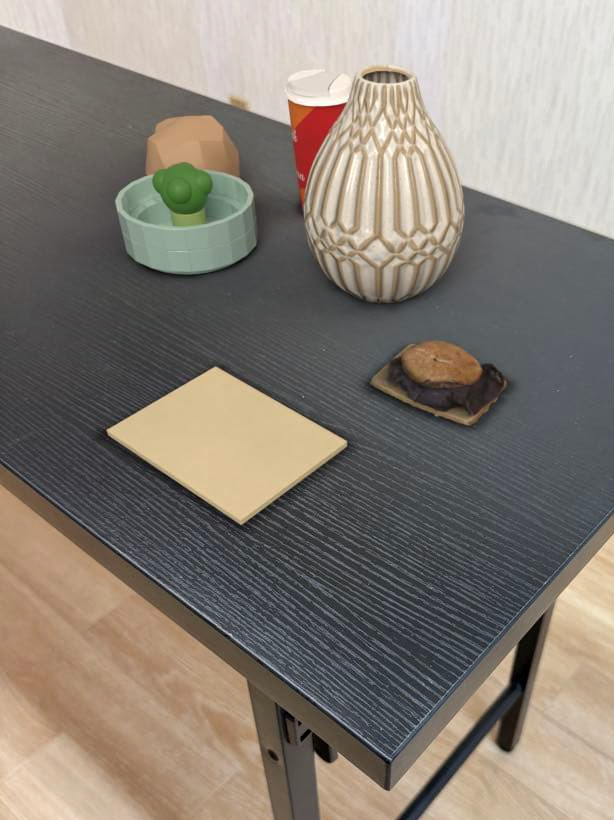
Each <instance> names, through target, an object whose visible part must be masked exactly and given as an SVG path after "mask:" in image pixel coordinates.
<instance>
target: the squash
mask: <svg viewBox="0 0 614 820" xmlns="http://www.w3.org/2000/svg"><path fill="white" fill-rule="evenodd" d="M239 153H240V152H239V150H238V148H237V147H236V146H235V144H234V143H233V141H232V139H231V137H230V136H229V134H228V133H227V131H226V130H225V129H224V126H223V125H222V124H221V123H220V122H219V121H217V119H216V118H214V117H213V115H206V114H204V115H184V116H176V117H171V118H166V119H163V120H162V121H160V122H158V123H157V124H156V125H155V128H154V133H153V134H152V135H150V136H149V137H148V138H147V142H146V156H145V158H146V159H145V175H146V176H148V175H152V174H155V172H156V171H158V170H160V169H167V168H168V167H170V166H172V165H174V164H179V163H181V162H187V163H190V164H192V165H193V166H194V167H195V168H196V169H206V170H212V171H218V172H224V173H227V174H230V175H232V176H235V177H238V178H240V176H241V175H240V156H239ZM240 179H241V178H240Z"/></svg>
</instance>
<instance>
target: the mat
mask: <svg viewBox="0 0 614 820" xmlns="http://www.w3.org/2000/svg"><path fill="white" fill-rule="evenodd" d="M106 432H107V436H108V437H110V438H111V439H113V440H114V441H116V442H117V443H119V444H120V445H121V446H123V447H125V448H126V449H128V450H129V451H130V452H132V453H134V454H135V455H137V456H138V457H139V458H141V459H143V461H145V462H147V463H148V464H150V465H151V466H153V467H154V468H156V469H157V470H159V471H161V472H162V473H163V474H165V475H166V476H168V477H169V478H171V479H172V480H174V481H175V482H177V484H179V485H181V486H183V487H184V488H186V489H187V490H188V491H190V492H191V493H193V494H194V495H195V496H197V497H199V498H201V499H202V501H203V500H204V501H205V502H206V503H207V504H209V505H211V506H212V507H214V508H215V509H217V510H218V511H220V512H221V513H223V514H224V515H226V516H227V517H228V518H230V519H231V520H233V521H234V522H236V523H237V524H239V525H240V526H242V525H243V524H245V523H247V522H248V521H249V520H250V519H252V518H253V517H254V516H256V515H257V514H259V513H260V512H261V511H263V510H264V509H265V508H267V507H268V506H269V505H271V504H272V503H274V502H275V501H276V500H277V499H279V498H280V497H282V496H283V495H284V494H285V493H286V492H288V491H289V490H290V489H292V488H294V487H295V486H296V485H297V484H299V483H300V482H302V481H303V480H304V479H306V478H307V477H308V476H309V475H311V474H313V473H314V472H315V471H316V470H318V469H319V468H320V467H321V466H323V465H324V464H326V463H327V462H329V461H330V460H331V459H333V458H334V457H335V456H337V455H338V454H339V453H341V452H342V451H343V450H344V449H346V448H347V447H348V441H347V440H346V439H344V438H342V437H340V436H339V435H337V434H335V433H334V432H331V431H330V430H328V429H326V428H324V427H323V426H322V425H319V424H318V423H316V422H315V421H312V420H310V419H309V418H307V417H306V416H303V415H302V414H300V413H299V412H296V411H295V410H293V409H291V408H289V407H287V406H286V405H284V404H282V403H281V402H279V401H278V400H275V399H274V398H272V397H271V396H268V395H267V394H265V393H263V392H261V391H260V390H258V389H256V388H254V387H253V386H252V385H249V384H247V383H246V382H245V381H242V380H240V379H238V378H237V377H235V376H234V375H232V374H230V373H228V372H226V371H225V370H223V369H221V368H220V367H217V366H214V367H212V368H210V369H208V370H207V371H205V372H203V373H202V374H200V375H198V376H196V377H195V378H193V379H191V380H190V381H188V382H186V383H185V384H183V385H181V386H179V387H177V388H176V389H175V390H173V391H171V392H169V393H168V394H166V395H164V396H163V397H161V398H158V399H157V400H155V401H154V402H152V403H151V404H148V405H147V406H145V407H144V408H142V409H140V410H138V411H137V412H134V414H132V415H130V416H128V417H126V418H124V419H123V420H121V421H120V422H118V423H116V424H115V425H113V426H111V427H109V428H107V429H106Z"/></svg>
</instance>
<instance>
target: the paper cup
mask: <svg viewBox="0 0 614 820" xmlns="http://www.w3.org/2000/svg"><path fill="white" fill-rule="evenodd" d="M352 83H353V82H352V80H351V78H350V77H349V76H348V75H347V74H345V73H341V74H340V72H339V71H333V70H328V71H327V69H323V68H321V69H320V68H318V69H317V68H315V69H314V68H313V69H303V70H300V71H297V72H294V73H292V74H290V76H288V78H287V80H286V87H285V89H284V91H283V95H284V97H285V98H286V99H287V105H288V112H289V113H288V114H289V121H290V130H291V136H292V145H293V155H294V162H295V170H296V177H297V178H296V179H297V185H298V186H297V187H298V193H299V199H300V206H301V210H302V211H303V203H304V196H305V190H306V185H307V181H308V176H309V173H310V169H311V166H312V164H313V161H314V158H315V156H316V154H317V152H318V150H319V148H320V146H321V144H322V142H323V140H324V139H325V137H326V135H327V133H328V132H329V130H330V129H331V127H332V126H333V124H334V123H335V121H336V120H337V119H338V117H339V116H340V115H341V113H342V111H343V109H344V108H345V106H346V103H347V100H348V97H349V94H350V90H351V87H352Z"/></svg>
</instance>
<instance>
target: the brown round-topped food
mask: <svg viewBox="0 0 614 820" xmlns="http://www.w3.org/2000/svg"><path fill="white" fill-rule="evenodd" d="M369 385H371V386H372V387H374V388H376V389H378V390H379V391H382V392H383V393H385V394H387V395H390V396H391V397H395V398H394V399H395V400H396V399H398V400H400V401H401V402H402V403H405V404H409V405H410V406H412V407H413V408H414V407H415V408H418V409H420V410H422V411H427V412H428V413H430V414H433V415H434V416H435V417H443V418H445V419H446V420H451V421H453V422H454V423H455V422H456V423H457V424H461V425H465V426H468V427H470V426H472V425H474V424H476V423H477V422H478V420H479V419H481V417H482V416H483V414H485V413H487V411H488V410H489V409H490V406H491V405H492V404H493V403H496V402H497V401H498V398H499V396H500V395H501V394H502V392H503V391H504V390H505V389H506V388H507V386H508V385H507V381H506V379H505V378H504V375H503V373H502V371H500V370H498V368H497V367H496V366H495V365H494V364H493V363H491V362H484V363H483V364H482V363H479V361H478V360H477V359H476V358H475V357H474V356H473V355H471V354H470V352H468V351H466V350H465V349H463V348H462V347H460V346H459V345H458V344H457V345H456V344H454V343H451V342H449V341H443V340H434V339H433V340H425V341H421V342H419V343H409V344H407V345H406V346H405V347H404V348H403V349H402V350H401V351H400V352H398V354H396V355H395V356H394V357H393V358H392V359H391V360H389V362H387V364H385V366H382V368H381V369H380V370H379V371H378V372H377V373H376V374H375V375H373V376H372V378H371V380H370V384H369Z"/></svg>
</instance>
